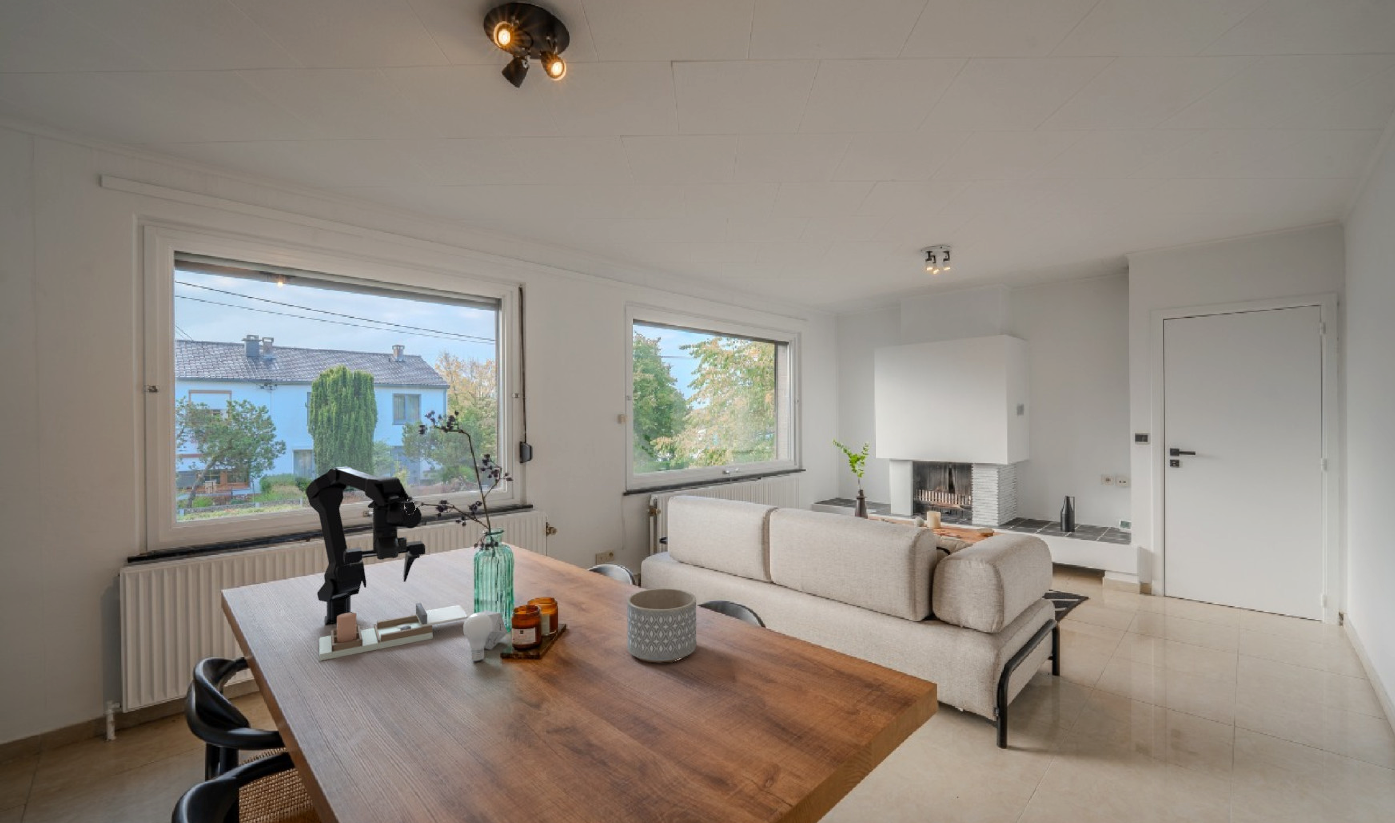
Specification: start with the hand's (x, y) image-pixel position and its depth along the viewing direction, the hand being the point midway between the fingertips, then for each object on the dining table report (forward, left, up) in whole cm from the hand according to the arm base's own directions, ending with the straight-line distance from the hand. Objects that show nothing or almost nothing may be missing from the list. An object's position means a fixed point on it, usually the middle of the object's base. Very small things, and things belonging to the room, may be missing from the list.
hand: (385, 584), depth 152 cm
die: (+26, +20, -12) cm, 35 cm away
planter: (+53, +54, -12) cm, 77 cm away
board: (+7, -3, -12) cm, 14 cm away
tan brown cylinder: (+10, -9, -10) cm, 17 cm away
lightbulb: (+34, +16, -12) cm, 40 cm away
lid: (+7, +13, -9) cm, 17 cm away
